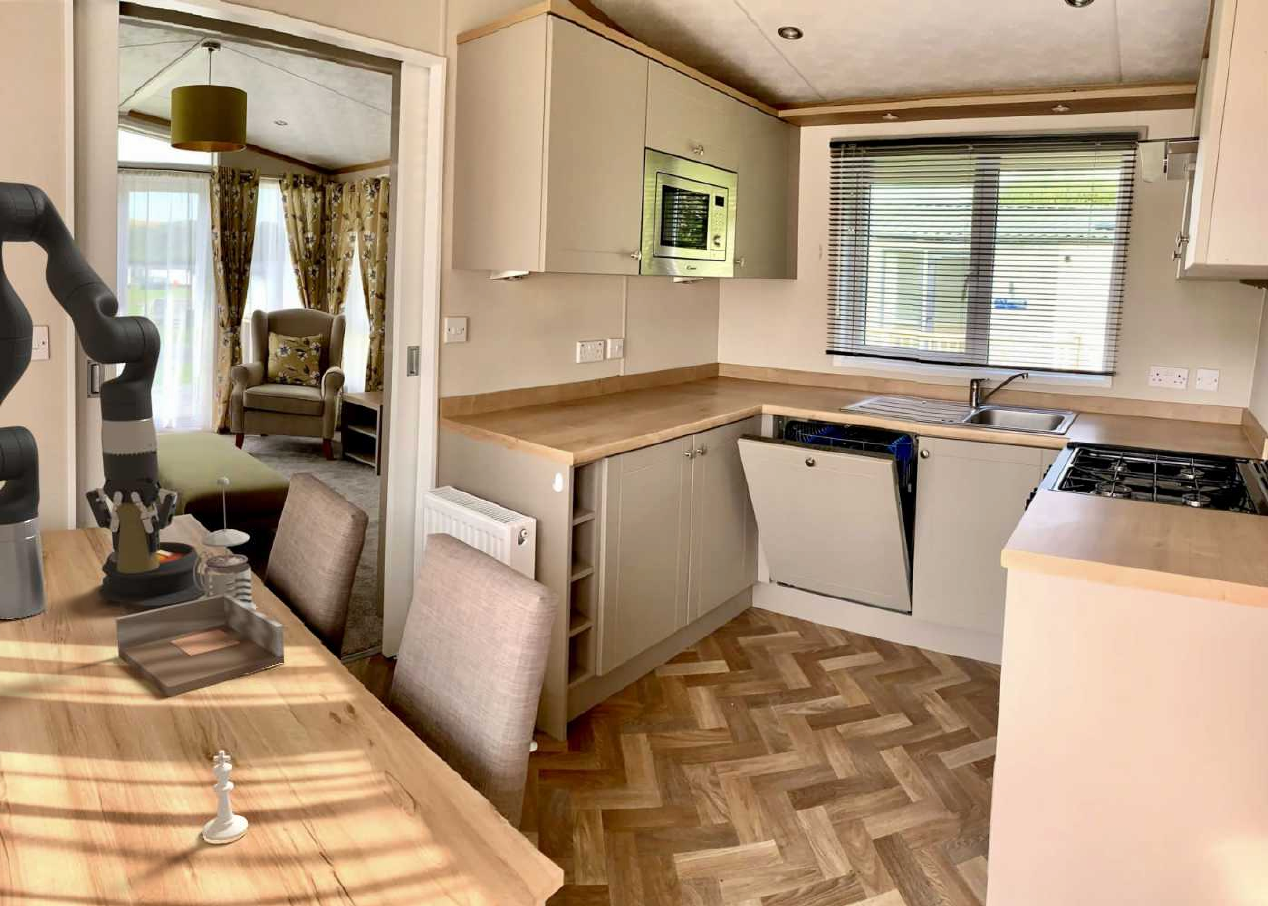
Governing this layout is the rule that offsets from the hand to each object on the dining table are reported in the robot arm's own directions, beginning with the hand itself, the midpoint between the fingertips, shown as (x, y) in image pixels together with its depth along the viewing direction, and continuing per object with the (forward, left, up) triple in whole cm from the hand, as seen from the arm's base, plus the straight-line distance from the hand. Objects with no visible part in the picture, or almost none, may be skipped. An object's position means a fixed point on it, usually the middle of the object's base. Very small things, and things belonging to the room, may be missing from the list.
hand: (137, 553), depth 155 cm
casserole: (-29, +12, -18) cm, 36 cm away
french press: (-11, +18, -18) cm, 28 cm away
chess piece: (+56, -12, -18) cm, 60 cm away
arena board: (+7, +6, -17) cm, 20 cm away
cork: (0, 0, -3) cm, 3 cm away
